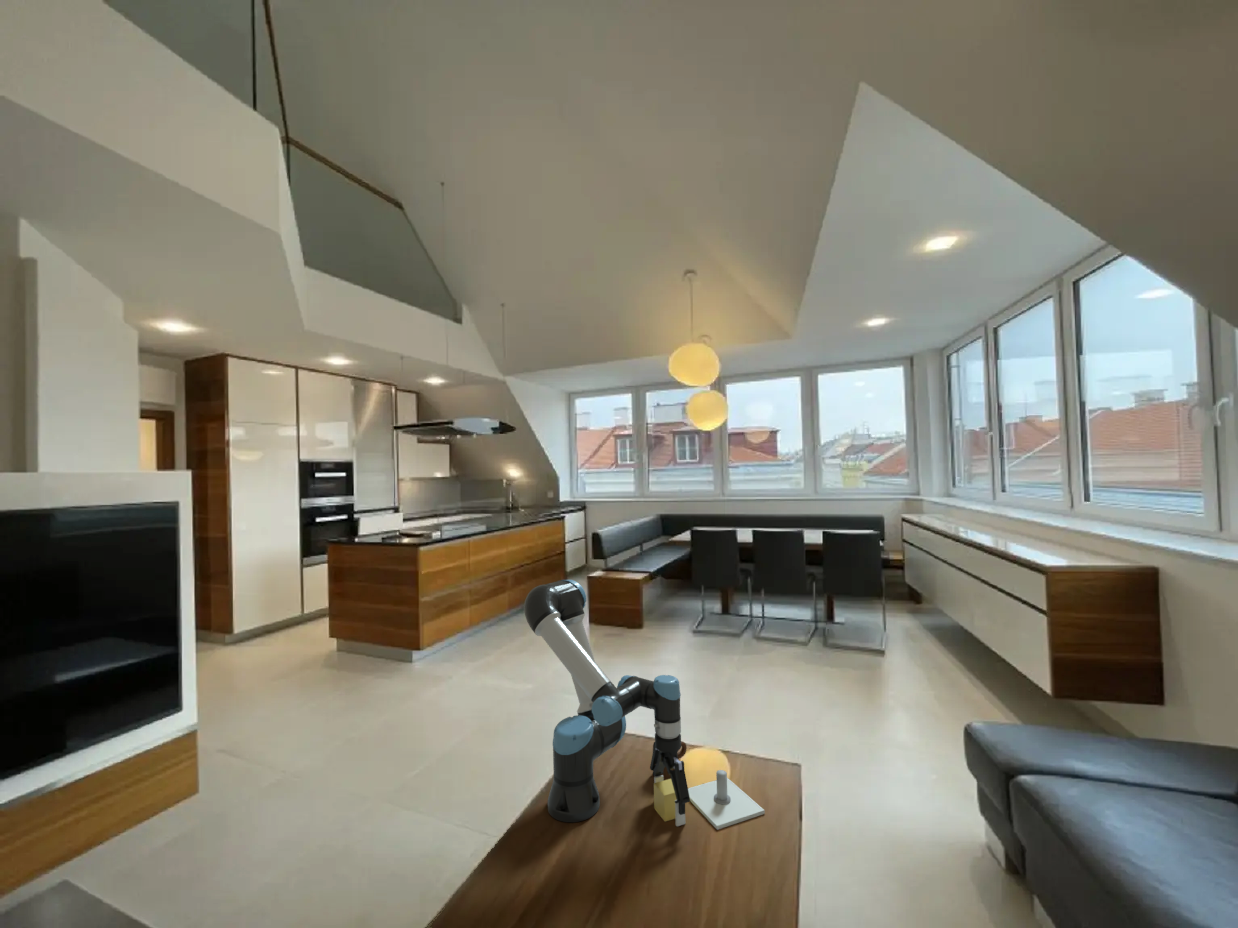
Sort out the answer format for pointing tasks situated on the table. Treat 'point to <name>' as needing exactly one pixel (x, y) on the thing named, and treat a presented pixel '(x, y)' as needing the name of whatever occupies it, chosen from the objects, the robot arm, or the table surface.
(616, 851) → the table surface
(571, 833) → the table surface
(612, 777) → the table surface
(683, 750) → the mug
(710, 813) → the white square plate
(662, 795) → the pale yellow cube
